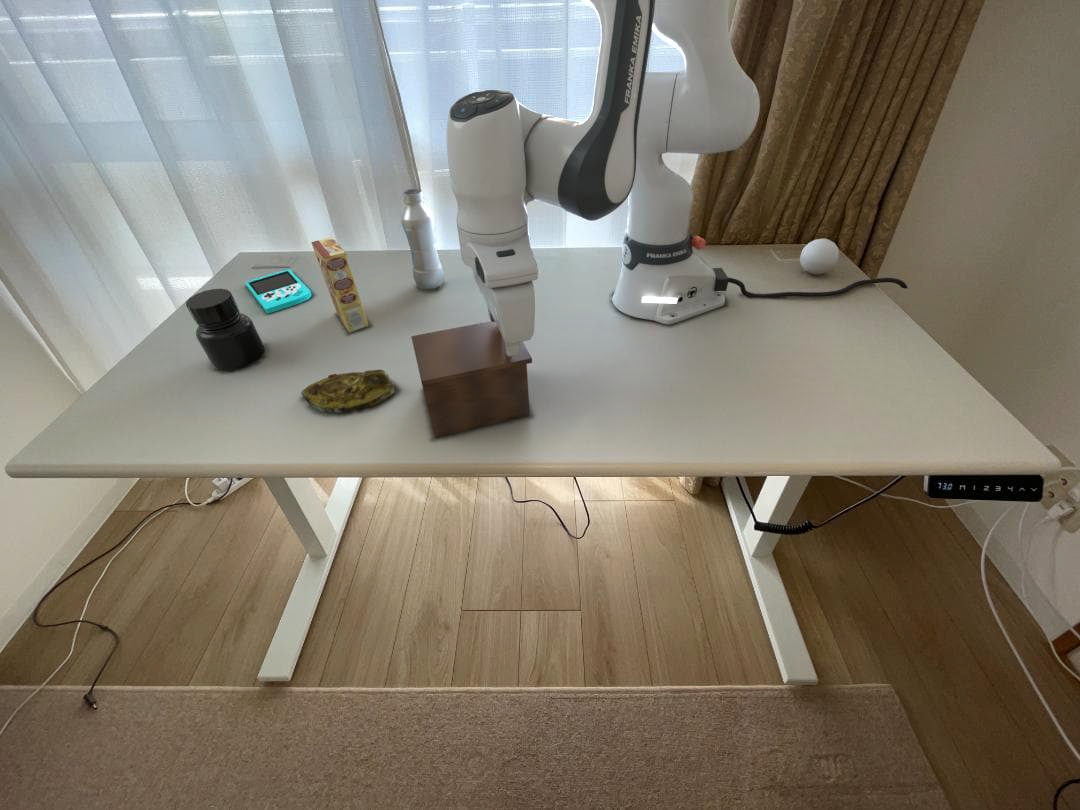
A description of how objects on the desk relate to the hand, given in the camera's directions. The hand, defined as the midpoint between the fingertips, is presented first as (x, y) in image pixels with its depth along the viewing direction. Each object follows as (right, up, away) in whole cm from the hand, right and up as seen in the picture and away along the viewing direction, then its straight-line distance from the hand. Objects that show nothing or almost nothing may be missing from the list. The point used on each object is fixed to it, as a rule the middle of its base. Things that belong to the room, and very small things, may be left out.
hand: (503, 335), depth 71 cm
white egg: (+65, +20, +37) cm, 78 cm away
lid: (-5, -2, 0) cm, 5 cm away
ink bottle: (-49, -2, +18) cm, 52 cm away
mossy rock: (-26, -9, +9) cm, 29 cm away
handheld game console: (-52, +14, +36) cm, 65 cm away
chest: (-5, -10, +6) cm, 13 cm away
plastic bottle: (-19, +16, +37) cm, 44 cm away
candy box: (-32, +7, +27) cm, 42 cm away
